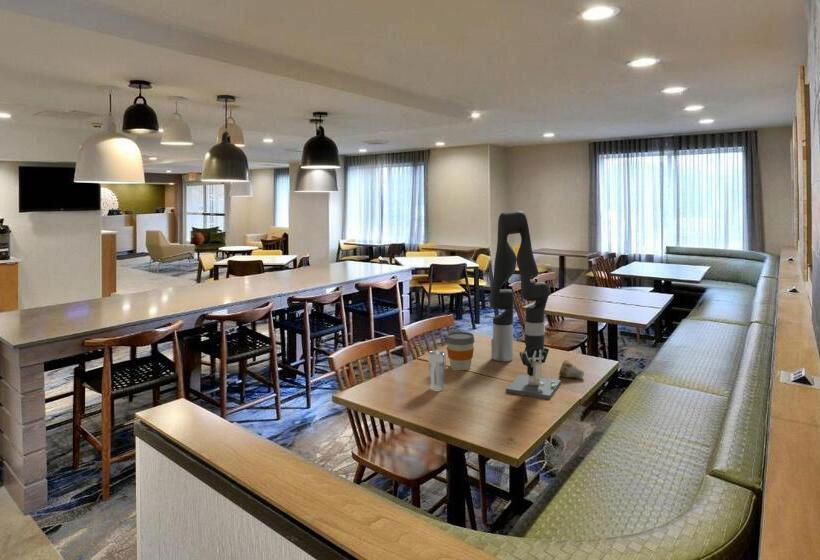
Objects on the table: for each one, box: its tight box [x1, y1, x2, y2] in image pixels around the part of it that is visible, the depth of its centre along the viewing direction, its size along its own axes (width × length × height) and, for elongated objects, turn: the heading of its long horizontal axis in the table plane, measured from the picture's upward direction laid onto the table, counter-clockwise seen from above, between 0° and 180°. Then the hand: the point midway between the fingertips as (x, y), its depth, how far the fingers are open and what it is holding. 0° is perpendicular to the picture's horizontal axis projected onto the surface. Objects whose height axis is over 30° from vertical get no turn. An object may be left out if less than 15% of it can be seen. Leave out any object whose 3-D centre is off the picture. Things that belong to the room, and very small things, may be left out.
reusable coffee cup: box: [445, 331, 475, 371], centre depth 232 cm, size 13×13×15 cm
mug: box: [558, 359, 585, 380], centre depth 217 cm, size 8×10×10 cm
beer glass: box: [427, 350, 447, 391], centre depth 207 cm, size 7×7×15 cm
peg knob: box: [526, 361, 544, 387], centre depth 204 cm, size 10×4×9 cm, turn 16°
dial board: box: [505, 374, 562, 400], centre depth 206 cm, size 17×18×2 cm
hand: (534, 374), depth 206 cm, fingers closed on peg knob, 3 cm apart
